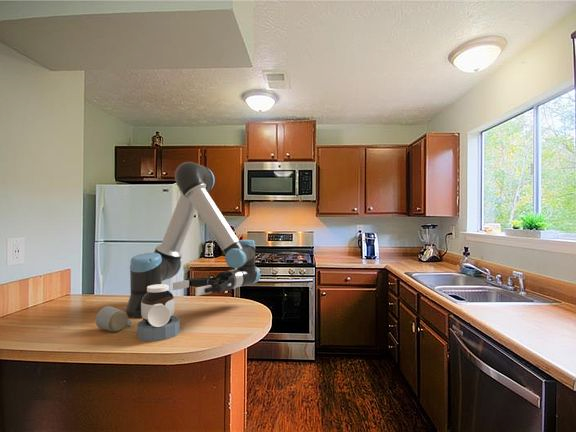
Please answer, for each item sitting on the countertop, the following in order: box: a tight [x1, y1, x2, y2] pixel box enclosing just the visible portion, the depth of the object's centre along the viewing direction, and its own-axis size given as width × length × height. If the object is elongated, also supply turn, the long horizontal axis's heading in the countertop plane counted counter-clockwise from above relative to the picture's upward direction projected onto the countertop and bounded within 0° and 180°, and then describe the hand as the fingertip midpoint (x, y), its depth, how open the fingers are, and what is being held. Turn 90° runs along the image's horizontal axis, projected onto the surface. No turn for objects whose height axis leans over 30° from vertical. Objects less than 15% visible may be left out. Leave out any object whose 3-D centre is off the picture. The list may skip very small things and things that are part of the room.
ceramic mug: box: [95, 305, 133, 333], centre depth 116 cm, size 11×8×8 cm
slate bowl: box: [136, 315, 181, 342], centre depth 111 cm, size 13×13×4 cm
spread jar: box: [141, 283, 175, 327], centre depth 110 cm, size 12×11×12 cm
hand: (184, 289), depth 119 cm, fingers open, 13 cm apart
